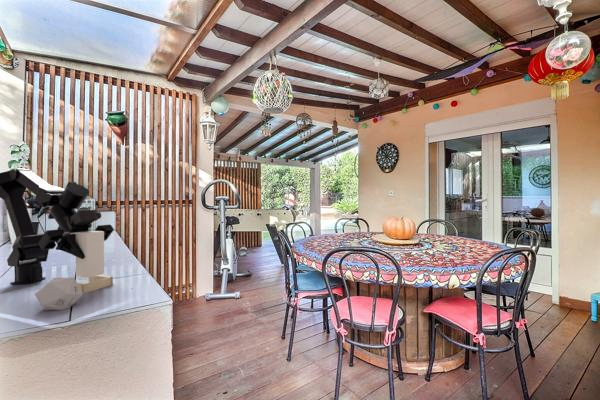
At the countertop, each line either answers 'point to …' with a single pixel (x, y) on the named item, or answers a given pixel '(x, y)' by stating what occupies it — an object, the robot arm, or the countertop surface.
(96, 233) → the block
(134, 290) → the countertop surface
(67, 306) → the die
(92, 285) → the lane rack
